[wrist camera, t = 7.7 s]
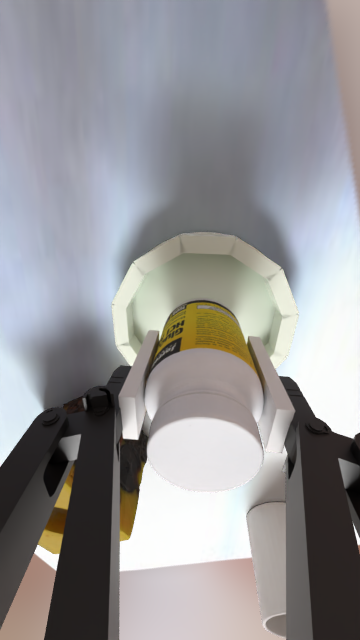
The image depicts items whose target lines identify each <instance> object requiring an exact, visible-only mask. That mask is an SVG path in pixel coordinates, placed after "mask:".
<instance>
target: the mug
mask: <svg viewBox="0 0 360 640" xmlns="http://www.w3.org/2000/svg"><path fill="white" fill-rule="evenodd" d="M246 520H247V526H248V533H249V540H250V546H251V553H252V560H253V566H254V573H255V579H256V586H257V593H258V598H259V606H260V612H261V619H262V625H263V627H264V628H265V629H266V630H267V631H268V632H270V633H272V634H274V635H276V636H279V637H282V638H285V639H286V503H284V502H270V503H264V504H261V505H258V506H256V507H254V508H253V509H251V510H250V511H249V513H248V514H247V519H246Z"/></svg>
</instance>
